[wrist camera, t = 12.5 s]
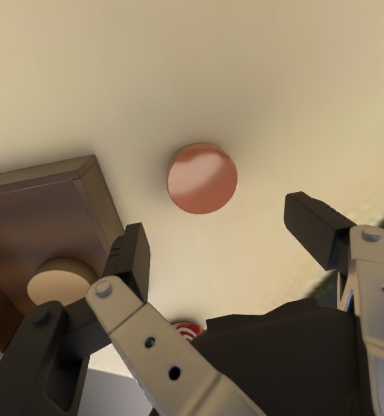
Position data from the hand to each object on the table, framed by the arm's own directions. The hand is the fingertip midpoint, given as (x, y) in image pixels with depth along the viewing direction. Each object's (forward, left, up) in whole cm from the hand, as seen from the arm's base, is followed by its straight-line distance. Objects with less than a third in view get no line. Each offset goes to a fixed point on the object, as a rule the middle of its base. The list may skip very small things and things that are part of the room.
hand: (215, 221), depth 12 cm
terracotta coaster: (+1, 0, -9) cm, 9 cm away
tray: (+5, -16, -9) cm, 19 cm away
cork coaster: (+9, -16, -9) cm, 20 cm away
